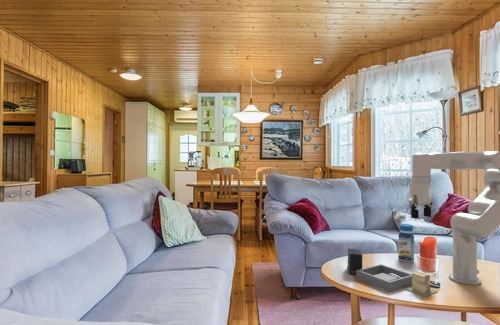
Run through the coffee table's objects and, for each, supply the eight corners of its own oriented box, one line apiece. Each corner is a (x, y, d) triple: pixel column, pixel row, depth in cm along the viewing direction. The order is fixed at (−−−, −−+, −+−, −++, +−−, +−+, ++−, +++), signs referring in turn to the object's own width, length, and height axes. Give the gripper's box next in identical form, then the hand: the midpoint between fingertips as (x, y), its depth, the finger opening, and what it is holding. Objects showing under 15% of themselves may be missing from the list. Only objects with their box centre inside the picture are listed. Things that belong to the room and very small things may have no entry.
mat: (417, 284, 145) (417, 284, 145) (438, 291, 137) (438, 291, 137) (404, 289, 140) (404, 288, 140) (424, 296, 132) (424, 296, 132)
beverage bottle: (417, 262, 179) (418, 226, 179) (404, 262, 177) (404, 226, 177) (407, 257, 187) (407, 223, 187) (394, 258, 186) (394, 223, 186)
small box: (363, 276, 156) (363, 254, 156) (349, 274, 158) (349, 253, 158) (360, 269, 167) (360, 248, 167) (347, 268, 168) (347, 248, 168)
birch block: (419, 286, 142) (419, 271, 142) (430, 290, 138) (430, 274, 138) (412, 289, 140) (412, 273, 140) (423, 293, 135) (423, 276, 135)
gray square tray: (380, 272, 162) (380, 264, 162) (414, 283, 146) (414, 275, 146) (356, 278, 153) (356, 270, 153) (389, 291, 137) (389, 282, 137)
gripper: (424, 179, 155) (424, 214, 155) (402, 180, 146) (401, 217, 146) (440, 180, 148) (439, 217, 148) (418, 181, 139) (417, 220, 139)
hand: (421, 217), depth 147 cm, fingers open, 9 cm apart
